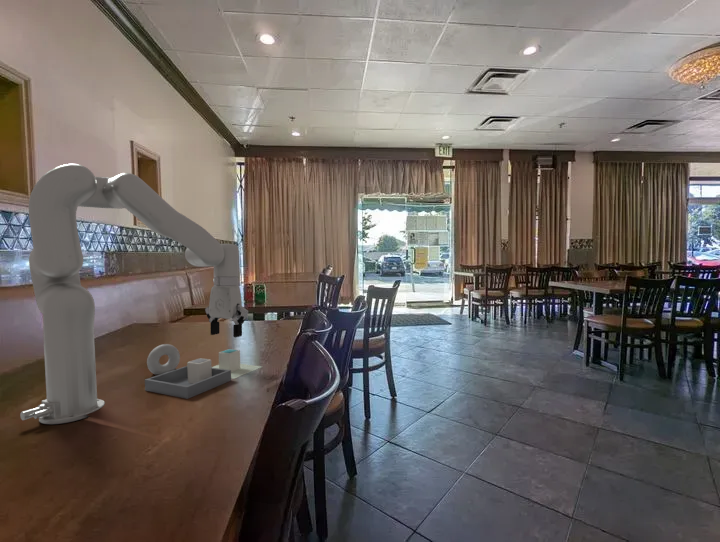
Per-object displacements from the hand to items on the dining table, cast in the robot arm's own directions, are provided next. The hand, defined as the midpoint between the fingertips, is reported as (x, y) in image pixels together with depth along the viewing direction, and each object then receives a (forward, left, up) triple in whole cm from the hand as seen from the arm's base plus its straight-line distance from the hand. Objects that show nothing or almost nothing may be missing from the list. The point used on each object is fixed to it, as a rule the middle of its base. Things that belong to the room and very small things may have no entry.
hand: (226, 335), depth 117 cm
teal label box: (+1, 0, -11) cm, 11 cm away
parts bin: (-15, 0, -12) cm, 19 cm away
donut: (-9, +18, -13) cm, 24 cm away
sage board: (+1, 0, -12) cm, 12 cm away
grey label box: (-11, 0, -11) cm, 16 cm away
